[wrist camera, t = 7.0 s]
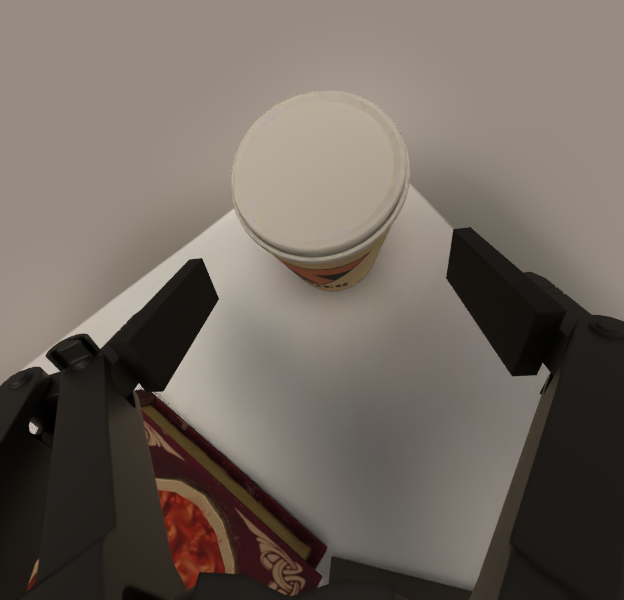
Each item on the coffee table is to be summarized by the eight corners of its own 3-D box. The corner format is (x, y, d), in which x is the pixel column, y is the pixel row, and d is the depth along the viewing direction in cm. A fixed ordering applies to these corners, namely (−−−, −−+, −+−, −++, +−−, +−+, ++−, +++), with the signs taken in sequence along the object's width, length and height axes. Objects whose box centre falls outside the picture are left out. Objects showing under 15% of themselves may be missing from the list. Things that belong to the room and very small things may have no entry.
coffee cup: (268, 279, 26) (195, 221, 14) (306, 191, 26) (269, 68, 15) (362, 316, 24) (369, 285, 12) (400, 220, 25) (442, 105, 13)
